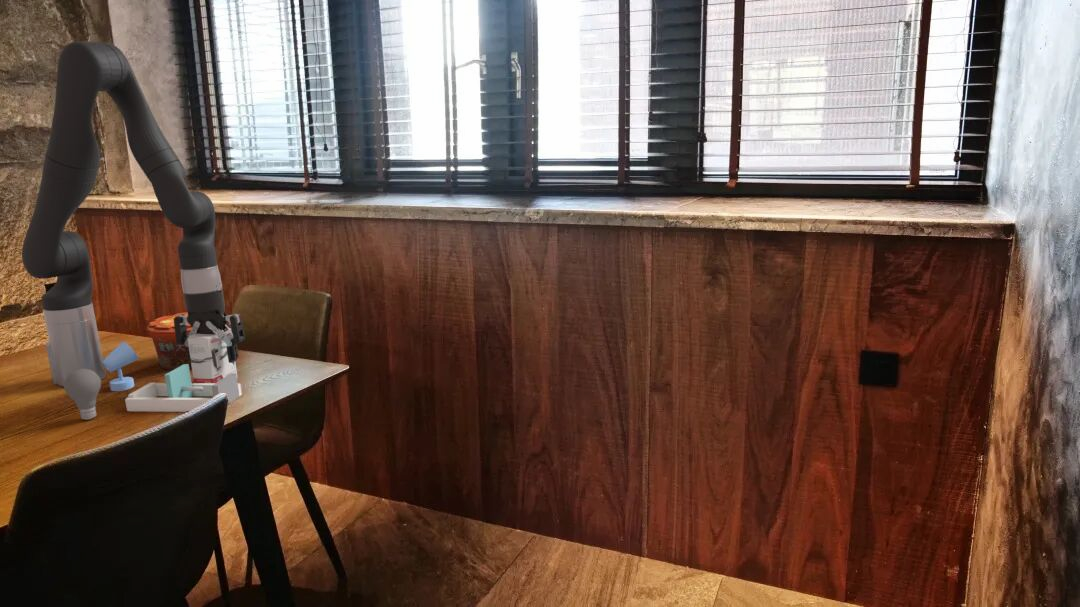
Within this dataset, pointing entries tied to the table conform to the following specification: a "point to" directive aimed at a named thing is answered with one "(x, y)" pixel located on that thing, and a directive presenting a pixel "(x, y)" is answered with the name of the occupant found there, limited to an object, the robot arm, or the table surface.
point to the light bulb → (83, 390)
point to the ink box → (209, 358)
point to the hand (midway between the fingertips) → (214, 361)
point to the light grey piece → (148, 402)
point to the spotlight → (117, 360)
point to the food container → (168, 342)
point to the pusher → (180, 383)
